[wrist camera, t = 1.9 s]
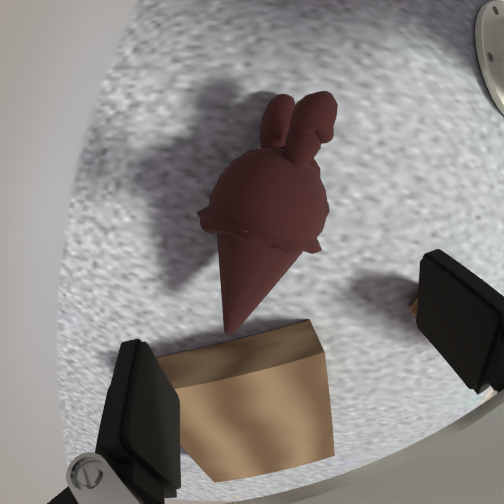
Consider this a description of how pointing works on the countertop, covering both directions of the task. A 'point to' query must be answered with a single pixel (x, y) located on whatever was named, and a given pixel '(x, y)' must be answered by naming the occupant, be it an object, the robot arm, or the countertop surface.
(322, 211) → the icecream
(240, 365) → the base
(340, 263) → the countertop surface
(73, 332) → the countertop surface
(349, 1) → the countertop surface
